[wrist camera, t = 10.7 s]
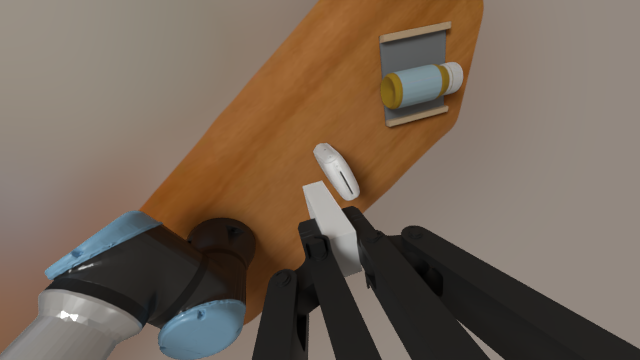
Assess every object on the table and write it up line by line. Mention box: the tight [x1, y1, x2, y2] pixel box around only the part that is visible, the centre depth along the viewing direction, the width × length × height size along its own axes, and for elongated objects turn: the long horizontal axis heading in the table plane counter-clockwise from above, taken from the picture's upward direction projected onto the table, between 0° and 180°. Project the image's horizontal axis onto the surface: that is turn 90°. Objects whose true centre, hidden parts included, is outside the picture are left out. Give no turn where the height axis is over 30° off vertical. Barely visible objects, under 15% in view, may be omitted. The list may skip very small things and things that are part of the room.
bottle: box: [380, 62, 463, 110], centre depth 49 cm, size 7×7×15 cm
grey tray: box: [379, 21, 451, 127], centre depth 51 cm, size 15×18×2 cm
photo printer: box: [313, 143, 360, 201], centre depth 49 cm, size 10×4×12 cm, turn 29°
